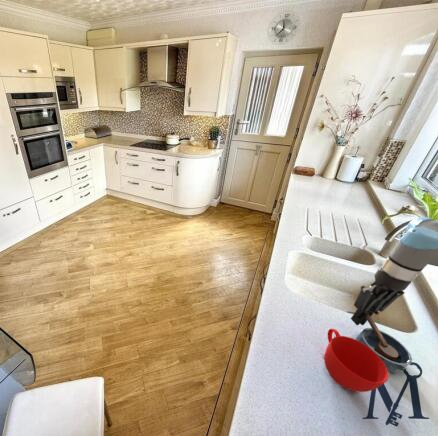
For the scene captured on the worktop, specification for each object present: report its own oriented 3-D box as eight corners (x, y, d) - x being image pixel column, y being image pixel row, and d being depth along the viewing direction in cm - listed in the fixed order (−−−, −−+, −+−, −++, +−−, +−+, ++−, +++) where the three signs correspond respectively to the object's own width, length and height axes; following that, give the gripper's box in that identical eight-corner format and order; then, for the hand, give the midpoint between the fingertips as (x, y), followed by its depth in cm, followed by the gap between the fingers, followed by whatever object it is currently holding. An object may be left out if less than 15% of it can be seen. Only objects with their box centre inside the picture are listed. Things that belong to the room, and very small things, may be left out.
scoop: (396, 363, 73) (413, 348, 69) (381, 363, 73) (397, 347, 69) (356, 319, 87) (368, 304, 83) (343, 319, 87) (355, 304, 82)
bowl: (378, 336, 82) (386, 328, 80) (413, 373, 72) (423, 365, 69) (346, 335, 81) (352, 327, 79) (376, 373, 71) (384, 365, 69)
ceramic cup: (340, 344, 78) (355, 326, 73) (380, 404, 64) (402, 386, 59) (301, 340, 79) (313, 322, 74) (332, 399, 64) (350, 380, 59)
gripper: (405, 265, 76) (366, 313, 88) (364, 264, 75) (330, 312, 87) (430, 283, 69) (384, 331, 81) (385, 281, 68) (346, 331, 80)
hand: (357, 321), depth 84 cm, fingers closed on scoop
